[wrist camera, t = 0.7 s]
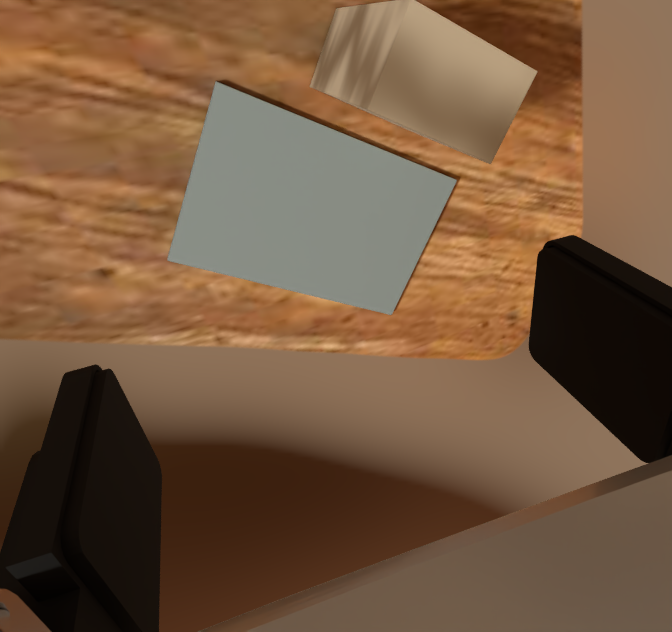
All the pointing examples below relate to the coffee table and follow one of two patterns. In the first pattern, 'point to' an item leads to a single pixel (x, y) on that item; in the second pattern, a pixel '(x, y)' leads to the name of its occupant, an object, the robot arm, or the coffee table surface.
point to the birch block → (423, 75)
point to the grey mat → (304, 206)
